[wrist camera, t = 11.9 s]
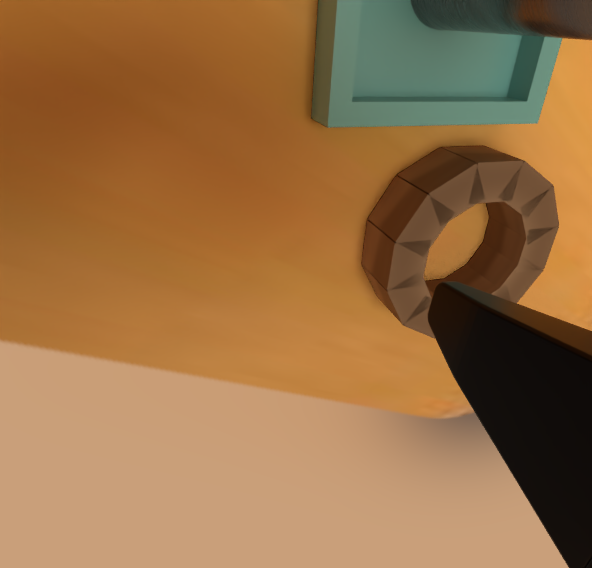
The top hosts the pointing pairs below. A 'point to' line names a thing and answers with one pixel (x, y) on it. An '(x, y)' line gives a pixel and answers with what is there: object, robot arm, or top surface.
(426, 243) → the socket
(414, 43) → the tray
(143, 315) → the top surface
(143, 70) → the top surface
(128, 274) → the top surface
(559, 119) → the top surface
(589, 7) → the steel pin
